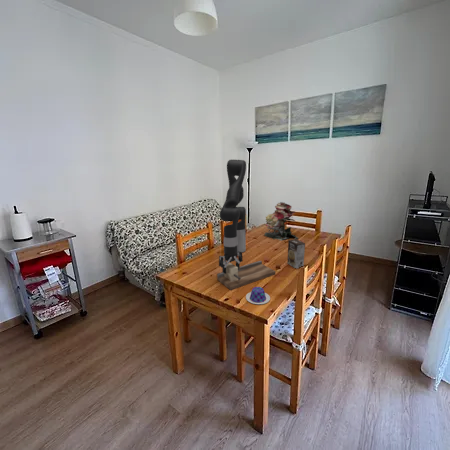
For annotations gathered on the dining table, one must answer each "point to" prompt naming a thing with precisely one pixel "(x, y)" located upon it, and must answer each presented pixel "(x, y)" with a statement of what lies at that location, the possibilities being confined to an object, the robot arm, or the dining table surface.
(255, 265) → the walnut board
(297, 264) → the coffee box
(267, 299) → the pudding
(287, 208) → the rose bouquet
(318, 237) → the dining table surface
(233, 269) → the block
